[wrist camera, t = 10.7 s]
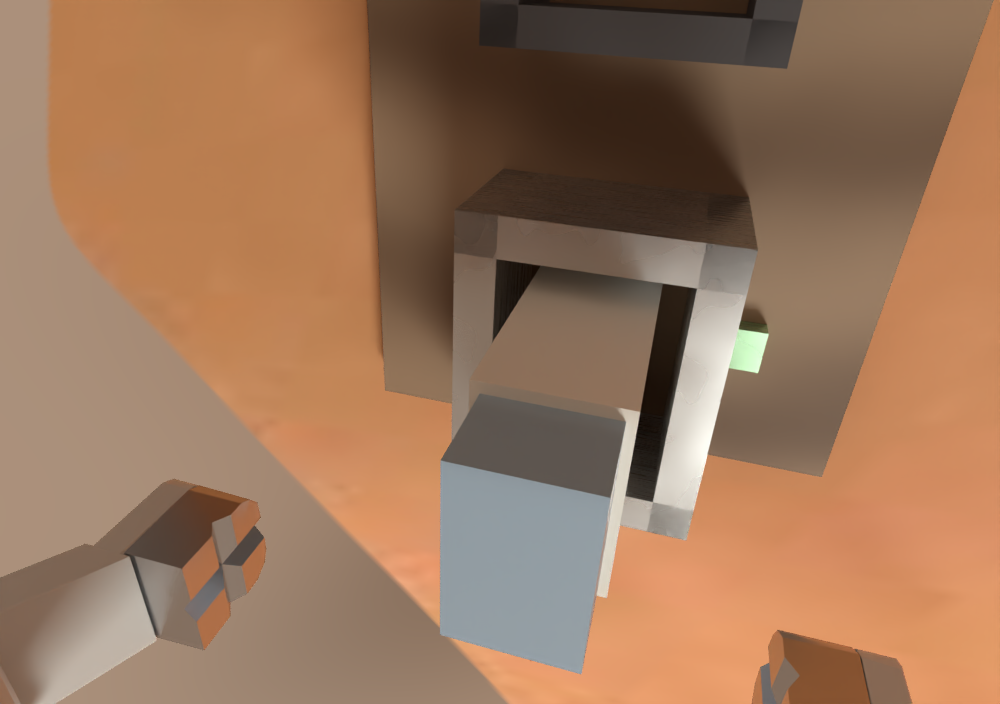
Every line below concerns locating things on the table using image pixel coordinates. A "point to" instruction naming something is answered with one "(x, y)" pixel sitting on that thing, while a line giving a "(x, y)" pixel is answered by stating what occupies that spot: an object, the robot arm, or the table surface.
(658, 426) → the frame
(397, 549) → the table surface
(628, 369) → the plug
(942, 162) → the table surface
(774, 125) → the board
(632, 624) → the table surface
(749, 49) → the dark grey hollow frame
